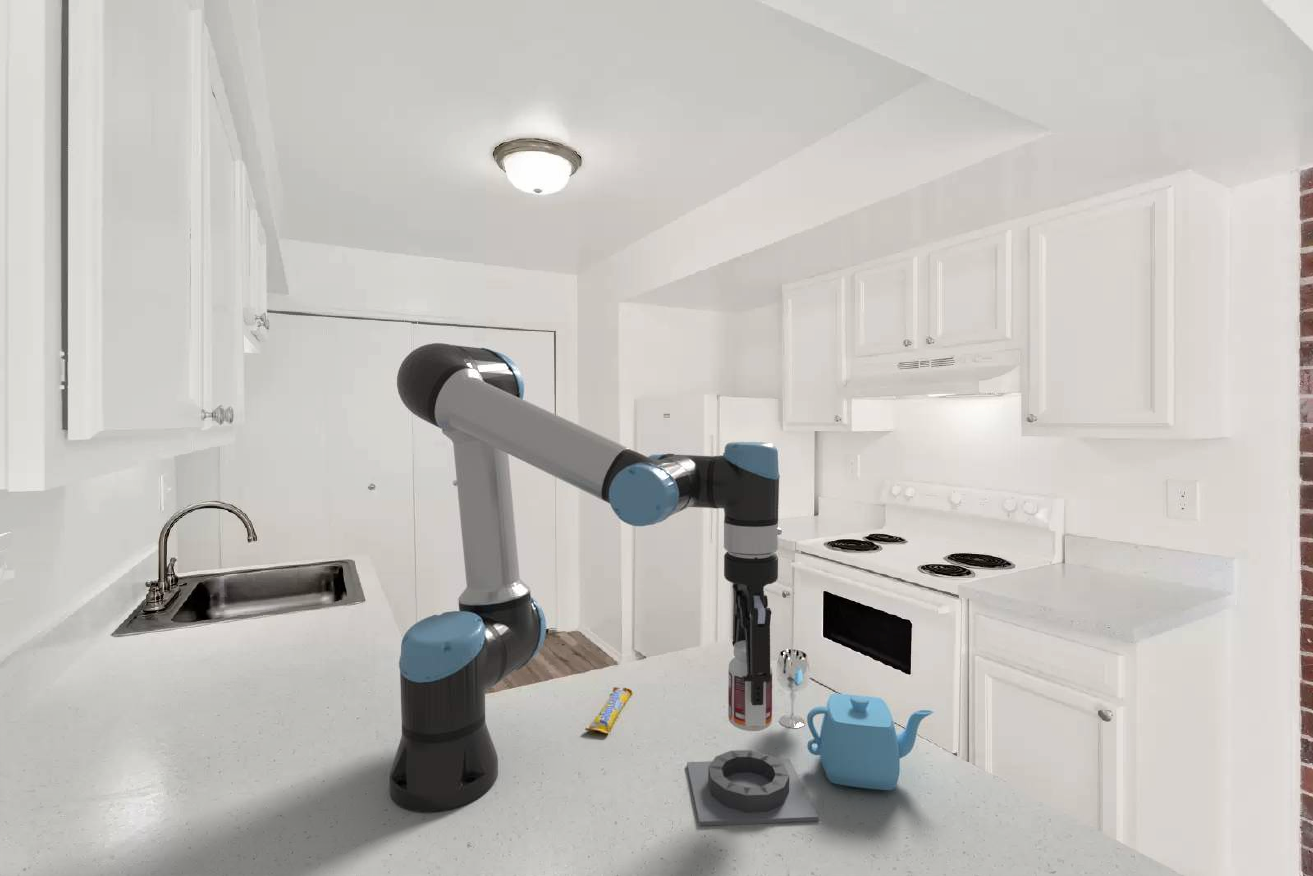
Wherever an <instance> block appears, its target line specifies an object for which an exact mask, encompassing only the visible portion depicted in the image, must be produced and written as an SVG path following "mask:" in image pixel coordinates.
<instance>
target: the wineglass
mask: <svg viewBox="0 0 1313 876" xmlns="http://www.w3.org/2000/svg"><path fill="white" fill-rule="evenodd" d="M776 662H777V663H776V667H775V674H776V681H777V683H778V684H779V686H780V688H782V689H783V690H785V691H788V692H790V693H789V699H790V714H785V715H782V716H780V717H779V723H780V724H781V725H782V726H784V727H786V728H790V729H800V728H802V727H804V726H805V725H806V720H805V718H804V719H803V717H800V716H799V715H795V713H794V712H795V708H794V705H795V700H796V692H797V693H798V692H800V691H804V690H805V689H806V688H807V687H808V685H809V684H810V677H811V670H810V664H809V659H808V655H807V654H806V652H804V651H802V650H799V649H789V648H788V649H783V650H780V652H779V654H778V658H777V661H776Z"/></svg>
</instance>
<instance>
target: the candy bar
mask: <svg viewBox="0 0 1313 876" xmlns="http://www.w3.org/2000/svg"><path fill="white" fill-rule="evenodd" d="M632 695H633V691H632V689H631V688H627V687H623V688H622V690H620V687H617V686H615V687H613V689H612V694H611V695H610V697H609V699H608V700H607V702H606V703H605V705H604V706H603V707H602V709H601V710H600V711H599V713H598V714H597V716H596V717H595V718H594V720H593V721H592V722H591V724H590V725H589V727H586V728H584V730H585V731H597V732H600V733H601V734H602V733H603V734H608V735H609V733H610V732H611V730H612V728H613V727H614V725H615V723H616V722H617V720H618V718H619V716H620V715H619V714H621V713H622V711H623V710H622V709H624V708H625V706H626V704H627V703H628V702H629V700H628V699H630V698H631V696H632ZM626 702H627V703H626ZM623 707H624V708H623ZM621 710H622V711H621ZM620 712H621V713H620ZM618 715H619V716H618ZM616 719H617V720H616ZM615 721H616V722H615Z"/></svg>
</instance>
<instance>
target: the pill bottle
mask: <svg viewBox="0 0 1313 876" xmlns="http://www.w3.org/2000/svg"><path fill="white" fill-rule="evenodd" d="M770 675H771V681H770V682H766V726H746V725H745V681H743V680H742V676H747V657H746V640H743V641H739V642H736V643H735V644H734V647H733V658H732V659H731V660H730V661H729V663H728V684H727V685H728V687H727V688H728V689H727V691H728V693H727V694H728V696H727V697H728V700H727V702H728V703H727V704H728V706H727V707H728V709H727V711H728V712H727V713H728V714H727V715H728V716H727V717H728V721H729V722H730V724H731V725H732V726H734V727H735V728H737V729H740V730H743V731H746V732H761V731H763V730H765V729H768V728H769V727H770V726H771V725H772V721H773V665H772V664H771V662H770Z"/></svg>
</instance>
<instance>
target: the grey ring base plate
mask: <svg viewBox="0 0 1313 876" xmlns="http://www.w3.org/2000/svg"><path fill="white" fill-rule="evenodd" d="M686 768H687V773H688V777H689V782H690V786H691V792H692V797H693V802H694V806H695V807H694V808H695V810H696V817H697V821H698V825H699V827H706V826H707V827H708V826H730V825H731V826H732V825H737V826H738V825H757V824H758V825H759V824H779V823H781V824H782V823H802V822H803V823H804V822H819V815H818V812H817V810H816V809H815V806H814V804H813V802H812V800H811V799H810V797H809V795H808V793H807V790H806V789H805V787H804V785H803V783H802V781H801V779H800V777H799V775H798V773H797V771H796V768H795V767H794V765H793V763H792V761H791V759H790V758H775V757H774V756H772V755H771V754H767V753H763V752H759V751H757V750H751V749H741V750H740V749H739V750H738V749H737V750H729V751H726V752H724V753H722V754H719V755H715V757H713V760H710V761H708V760H707V761H687V762H686Z"/></svg>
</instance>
